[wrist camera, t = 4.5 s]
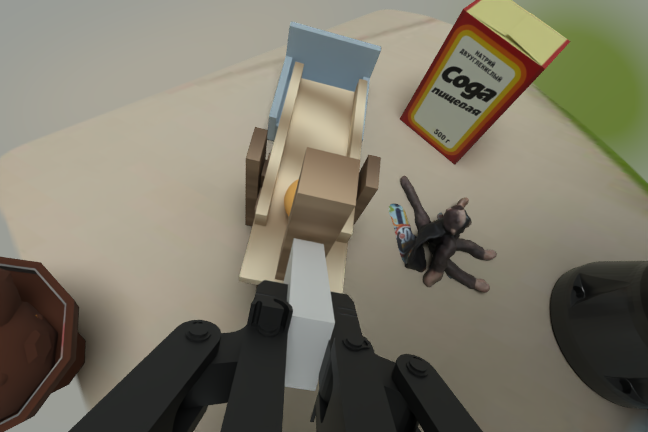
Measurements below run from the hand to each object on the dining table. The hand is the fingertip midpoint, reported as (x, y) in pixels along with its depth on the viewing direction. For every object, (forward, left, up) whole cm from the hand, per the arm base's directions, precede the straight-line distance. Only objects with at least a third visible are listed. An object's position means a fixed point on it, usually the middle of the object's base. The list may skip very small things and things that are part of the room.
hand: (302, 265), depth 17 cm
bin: (-9, -24, -17) cm, 31 cm away
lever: (-4, -10, -7) cm, 13 cm away
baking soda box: (-26, -21, -18) cm, 38 cm away
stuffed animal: (-19, -6, -18) cm, 27 cm away
